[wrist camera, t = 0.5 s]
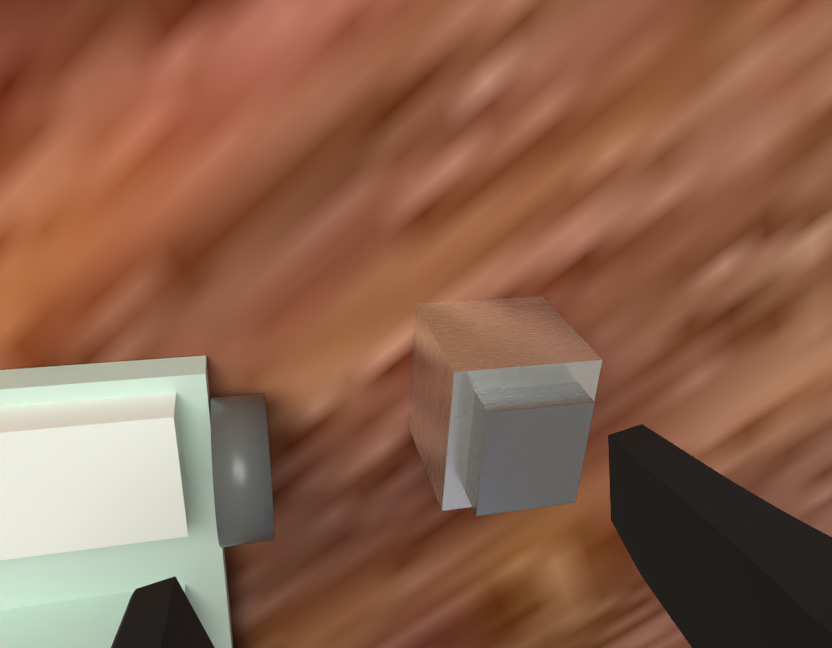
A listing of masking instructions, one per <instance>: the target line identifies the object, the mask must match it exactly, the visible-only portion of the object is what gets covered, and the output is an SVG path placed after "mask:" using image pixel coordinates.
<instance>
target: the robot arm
mask: <svg viewBox="0 0 832 648" xmlns="http://www.w3.org/2000/svg"><path fill="white" fill-rule="evenodd" d="M608 442H609V471H610V499H611V520H612V522H613V524H614V526H615V528H616V530H617V532H618V534H619V535H620V537H621V539H622V541H623V543H624V545H625V547H626V549H627V551H628V552H629V554H630V556H631V558H632V560H633V561H634V563H635V565H636V567H637V568H638V570H639V572H640V574H641V575H642V577H643V578H644V580H645V581H646V583H647V584H648V586H649V587H650V588H651V590H652V591H653V593H654V594H655V596H656V597H657V598H658V600H659V601H660V603H661V604H662V606H663V607H664V609H665V610H666V611H667V613H668V614H669V616H670V617H671V618H672V620H673V621H674V623H675V624H676V626H677V627H678V628H679V630H680V631H681V633H682V634H683V635H684V637H685V638H686V640H687V641H688V642H689V644H690V645H691V647H692V648H832V537H830V536H828V535H826V534H824V533H822V532H821V531H819V530H817V529H815V528H813V527H811V526H809V525H807V524H806V523H804V522H802V521H800V520H798V519H796V518H794V517H793V516H791V515H789V514H787V513H785V512H784V511H782V510H780V509H778V508H777V507H775V506H773V505H771V504H770V503H768V502H766V501H765V500H763V499H761V498H759V497H758V496H756V495H754V494H753V493H751V492H749V491H748V490H746V489H744V488H743V487H741V486H739V485H737V484H736V483H734V482H732V481H731V480H729V479H728V478H726V477H724V476H723V475H721V474H719V473H718V472H716V471H715V470H713V469H712V468H710V467H708V466H707V465H705V464H704V463H702V462H700V461H699V460H697V459H696V458H694V457H693V456H691V455H689V454H688V453H686V452H685V451H683V450H682V449H680V448H679V447H677V446H675V445H674V444H672V443H671V442H669V441H668V440H666V439H665V438H663V437H661V436H660V435H658V434H657V433H655V432H654V431H652V430H650V429H649V428H647V427H645V426H644V425H638V426H635V427H632V428H629V429H626V430H623V431H620V432H617V433H614V434H611V435H608ZM111 648H215V647H214V645H213V644H212V642H211V640H210V638H209V636H208V635H207V633H206V631H205V629H204V627H203V625H202V624H201V622H200V620H199V618H198V616H197V615H196V613H195V611H194V609H193V607H192V605H191V604H190V602H189V600H188V598H187V596H186V595H185V593H184V591H183V589H182V587H181V585H180V584H179V582H178V580H177V578H176V576H174V577H171V578H168V579H165V580H162V581H159V582H156V583H153V584H150V585H147V586H144V587H140V588H137V589H135V591H134V592H133V594H132V596H131V598H130V600H129V603H128V605H127V608H126V610H125V613H124V616H123V618H122V621H121V623H120V626H119V628H118V631H117V633H116V636H115V638H114V641H113V643H112V646H111Z"/></svg>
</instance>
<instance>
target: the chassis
mask: <svg viewBox="0 0 832 648" xmlns="http://www.w3.org/2000/svg"><path fill="white" fill-rule="evenodd" d="M273 540H274V514H273V496H272V480H271V465H270V452H269V439H268V426H267V415H266V404H265V396H264V393H260V394H248V395H236V396H224V397H213V398H211V403H210V392H209V381H208V371H207V360H206V356H192V357H178V358H164V359H150V360H136V361H122V362H108V363H94V364H80V365H66V366H52V367H38V368H24V369H10V370H0V648H111V646H112V643H113V641H114V638H115V636H116V633H117V631H118V628H119V626H120V623H121V621H122V618H123V616H124V613H125V610H126V608H127V605H128V603H129V600H130V598H131V596H132V594H133V592H134V591H135V589H137V588H140V587H144V586H147V585H150V584H153V583H156V582H159V581H162V580H165V579H168V578H171V577H174V576H176V578H177V580H178V582H179V584H180V585H181V587H182V589H183V591H184V593H185V595H186V596H187V598H188V600H189V602H190V604H191V605H192V607H193V609H194V611H195V613H196V615H197V616H198V618H199V620H200V622H201V624H202V625H203V627H204V629H205V631H206V633H207V635H208V636H209V638H210V640H211V642H212V644H213V645H214V647H215V648H233V637H232V626H231V616H230V605H229V594H228V584H227V573H226V562H225V552H224V547H228V546H236V545H243V544H251V543H258V542H266V541H273Z"/></svg>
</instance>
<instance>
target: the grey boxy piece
mask: <svg viewBox="0 0 832 648" xmlns="http://www.w3.org/2000/svg"><path fill="white" fill-rule="evenodd" d="M601 364H602V359H601V358H600V357H599V356H598V355H597V354H596V353H595V352H594V350H593V349H592V348H591V347H590V346H589V345H588V344H587V343H586V342H585V341H584V340H583V339H582V338H581V337H580V336H579V334H578V333H577V332H576V331H575V330H574V329H573V328H572V327H571V326H570V325H569V324H568V323H567V322H566V321H565V320H564V319H563V317H562V316H561V315H560V314H559V313H558V312H557V311H556V310H555V309H554V308H553V307H552V306H551V305H550V304H549V303H548V301H547V300H546V299H545V298H544V297H543V296H540V297H523V298H505V299H488V300H471V301H454V302H437V303H419V304H416V309H415V326H414V344H413V362H412V380H411V397H410V415H409V430H410V432H411V435H412V437H413V440H414V442H415V445H416V447H417V450H418V452H419V455H420V457H421V460H422V462H423V465H424V467H425V470H426V472H427V475H428V477H429V480H430V482H431V485H432V487H433V490H434V492H435V495H436V497H437V500H438V502H439V505H440V507H441V510H442V511H444V510H452V509H460V508H467V507H472V508H473V510H474V512H475V514H476V516H480V515H488V514H495V513H503V512H510V511H518V510H525V509H533V508H540V507H548V506H555V505H563V504H570V503H575V502H576V497H577V492H578V487H579V481H580V476H581V471H582V466H583V461H584V456H585V451H586V446H587V440H588V435H589V430H590V425H591V420H592V415H593V410H594V405H595V402H594V400H595V395H596V390H597V384H598V379H599V374H600V369H601Z"/></svg>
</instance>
